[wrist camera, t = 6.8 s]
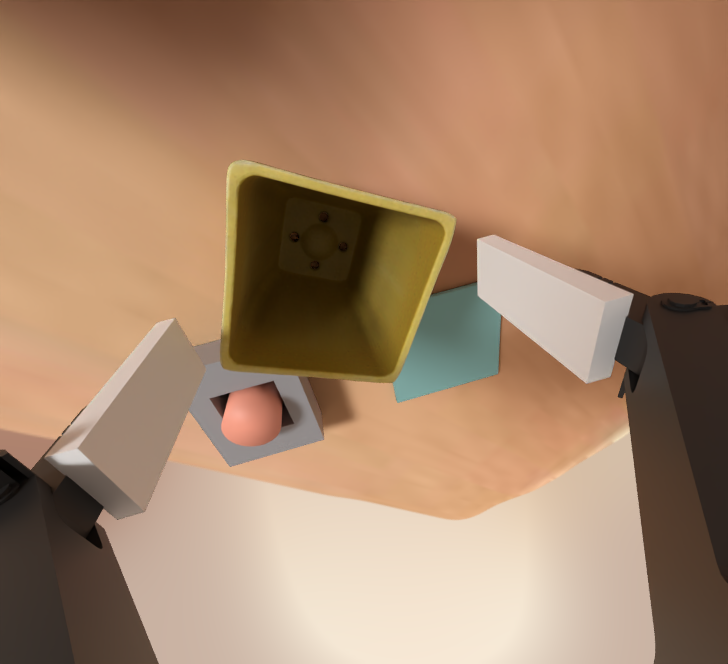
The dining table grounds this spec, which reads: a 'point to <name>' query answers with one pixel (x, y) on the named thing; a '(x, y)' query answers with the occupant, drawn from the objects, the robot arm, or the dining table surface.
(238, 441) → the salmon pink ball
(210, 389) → the housing
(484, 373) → the pad
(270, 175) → the flower pot
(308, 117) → the dining table surface
